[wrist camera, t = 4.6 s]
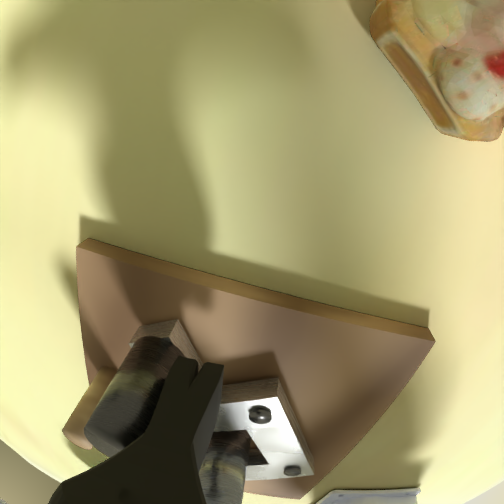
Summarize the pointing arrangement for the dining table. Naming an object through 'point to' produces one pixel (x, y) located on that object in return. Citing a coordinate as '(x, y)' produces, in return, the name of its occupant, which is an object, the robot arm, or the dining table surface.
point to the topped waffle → (448, 60)
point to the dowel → (87, 408)
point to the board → (255, 345)
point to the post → (225, 467)
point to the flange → (229, 416)
